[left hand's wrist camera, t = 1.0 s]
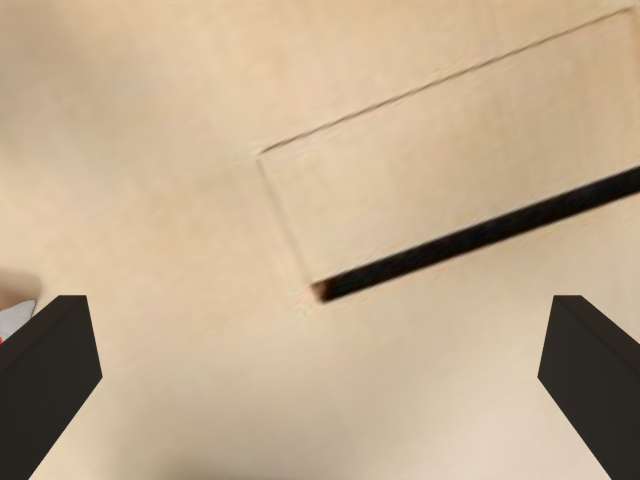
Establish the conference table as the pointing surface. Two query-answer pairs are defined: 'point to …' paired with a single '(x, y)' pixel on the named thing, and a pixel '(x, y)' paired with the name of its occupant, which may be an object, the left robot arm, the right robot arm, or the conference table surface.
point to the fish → (15, 318)
